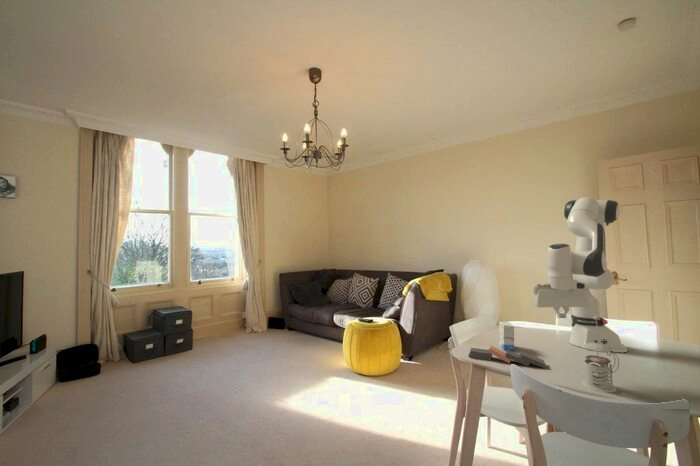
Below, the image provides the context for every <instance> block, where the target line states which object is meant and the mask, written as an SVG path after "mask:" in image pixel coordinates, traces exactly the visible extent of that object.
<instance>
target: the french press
mask: <svg viewBox="0 0 700 466" xmlns="http://www.w3.org/2000/svg"><path fill="white" fill-rule="evenodd" d="M600 317H601V316H600ZM600 317H598V316H594V317H593V319H596V324H597V320H600ZM584 347H585V348H586V350H587V349H588V351H591V352H596V354H599V353H603V354H604V353H606V355H607V356H609V357H611V356H613V360H614V364H613V365H612V364H611V362H612V361H611V360H610V359H609V358H608V357H603V356H600V355H592V354H591V355H586V356H585V360H584V374H585V375H584V377H585V378H584V380H583V381H581V385H583V386H584V387H585V388H587V389H589V390H592V391H595V392H600V393H606V392H612V393H615V392H614V391H615V390H617V388H616V387H615V386H614V383H613V374H614V373H615V372H617V371H618V370H619V367H620V360H619V357H618V355H617V354H616V353H615V352H611V351H612V349H611V348H609V347H608V346H606V345H604V344H601V343H598V333H597V342H596V343H594V342H591V343H588V344H585V345H584ZM585 348H584V349H585ZM608 353H609V354H608ZM616 359H617V368H616V369H615V370H614V371H613V369H614V367H615V366H616Z"/></svg>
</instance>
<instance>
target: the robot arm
mask: <svg viewBox="0 0 700 466" xmlns="http://www.w3.org/2000/svg"><path fill="white" fill-rule="evenodd" d="M563 215H564V218H565V219H566V226H567V228H568V230H569V231H570V232H571V233H572V234H574V235H575V236H576V240H575V247H574V251H572V249H571V246H570V245H569V244H566V243H555V244H551V245H549V246H548V247H547V253H546V267H547V270H548V271H547V279H546V280H547V283H544V284H543V283H538V284H536V285H534V287H533V293H534V295H533V305H534V306H536V307H538V308H553V311H554V312H555V314H556V318H557V319H567V314H568V313H569V311H570V308H571V315H570V324H571V332H570V336H569V337H570V338H569V340H568V342H569V343H570V344H571V345H573V346H576V347H578V348H583V349H586V348H585V347H584V345H585V344H588V343H591V342H594V343H596V342H597V333H598V343H601V344H604V345H606V346H608V347H609V348H611V349H612V352H613V353H624V352H626V353H628V352H627V351H629V350H628V348H627V346H626V345H625V344H622V342H621V338H620V336H619V335H618V333H616V332H615V331H613V330H612V329H611V328H609V327H608V326H606V325H607V324H608V323H609V321H608V320H607V319H605V318H603V317H601V316H600V302H599V300H598V298H597V297H595V296H594V295H593V294H592V292H591V290H600V291H601V290H608V289H610V288H611V287H612V286H613V284H614V283H615V282H614V281H615V276H614V274H613V272H612V271H611V270H610V269H608V262H607V258H606V257H607V255H606V253H607V252H606V233H605V230H606V229H605V226H606V227H608V226H609V225H610V224H612V223H614V222H616V221H617V220H618V219H619V218H618V217H620V215H621V206H620V205H619V202H617V201H615V200H611V199H608V200H606V199H595V198H593V197H588V196H585V197H581V198H578V199H573V200H569V201H568V202H566V203H565V205H564V207H563ZM561 308H562V309H563V311H562V312H560V309H561ZM594 316H598V317H600V320H597V324H596V319H593V317H594ZM586 350H588V349H586ZM588 351H589V350H588Z"/></svg>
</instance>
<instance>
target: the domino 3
mask: <svg viewBox="0 0 700 466" xmlns="http://www.w3.org/2000/svg"><path fill="white" fill-rule="evenodd" d="M488 350H489V351H488V352H489V353H491V354H492V356H494V357H497V359H500V360H502V361H504V362H506V363H508V364H510V363H511V361H512V360H511V359H509V358H507V357H505V353H506V351H505V352H504V350H503V351H502V350H500V349H498V348H497V347H495V346H494V345H490V347H489V348H488Z"/></svg>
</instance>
